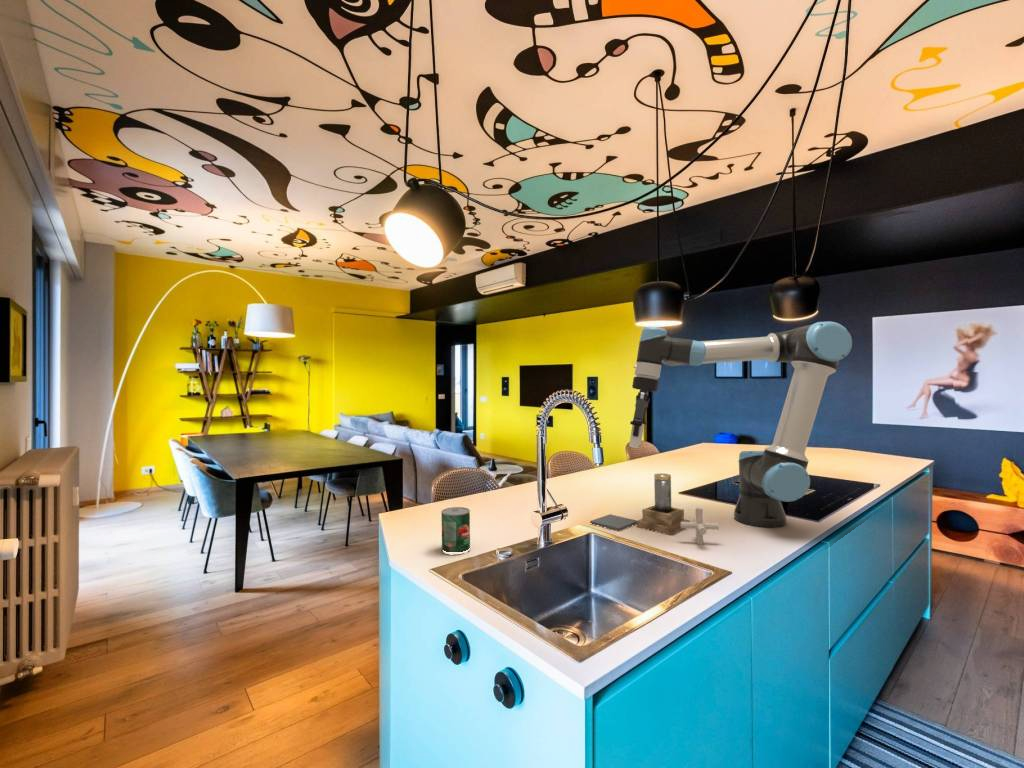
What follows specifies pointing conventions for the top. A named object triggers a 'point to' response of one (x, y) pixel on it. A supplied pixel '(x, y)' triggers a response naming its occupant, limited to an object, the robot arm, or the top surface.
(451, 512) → the canned tomato
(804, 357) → the robot arm
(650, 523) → the block
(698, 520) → the pipe connector
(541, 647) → the top surface
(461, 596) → the top surface
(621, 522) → the pad
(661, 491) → the peg
